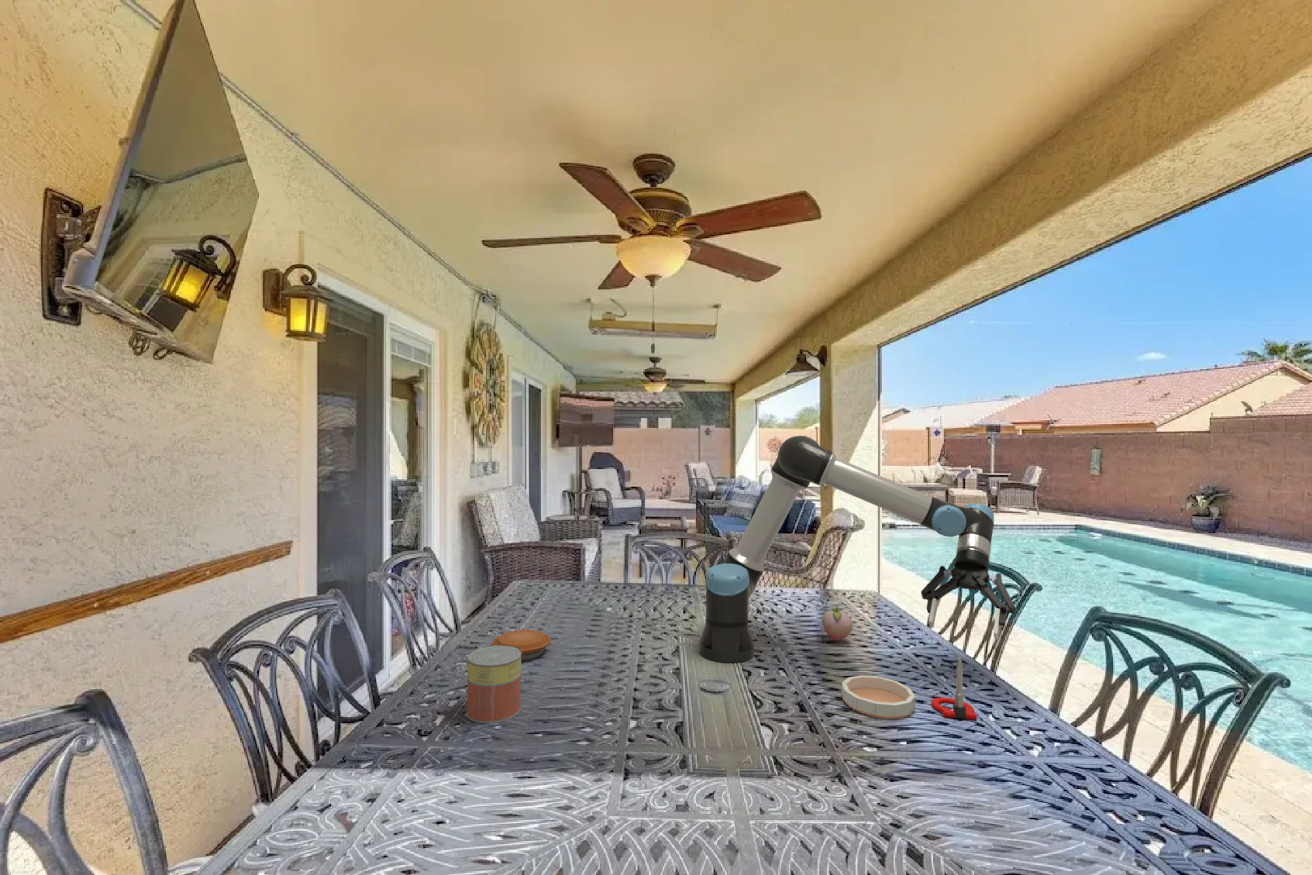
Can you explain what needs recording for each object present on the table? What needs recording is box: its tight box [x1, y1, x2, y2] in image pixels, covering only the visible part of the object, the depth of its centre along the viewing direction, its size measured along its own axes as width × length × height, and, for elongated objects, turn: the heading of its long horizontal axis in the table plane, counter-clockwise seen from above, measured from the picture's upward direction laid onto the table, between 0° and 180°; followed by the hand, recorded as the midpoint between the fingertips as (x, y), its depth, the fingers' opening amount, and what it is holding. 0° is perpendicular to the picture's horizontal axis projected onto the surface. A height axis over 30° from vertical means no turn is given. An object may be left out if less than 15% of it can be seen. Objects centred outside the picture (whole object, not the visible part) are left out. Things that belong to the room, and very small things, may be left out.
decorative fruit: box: [821, 606, 853, 642], centre depth 170 cm, size 9×8×10 cm
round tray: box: [841, 674, 916, 720], centre depth 130 cm, size 15×15×3 cm
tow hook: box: [930, 656, 978, 721], centre depth 128 cm, size 8×13×9 cm
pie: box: [491, 629, 552, 662], centre depth 157 cm, size 15×16×5 cm
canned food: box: [465, 645, 522, 724], centre depth 124 cm, size 11×11×12 cm
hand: (962, 630), depth 136 cm, fingers open, 13 cm apart
